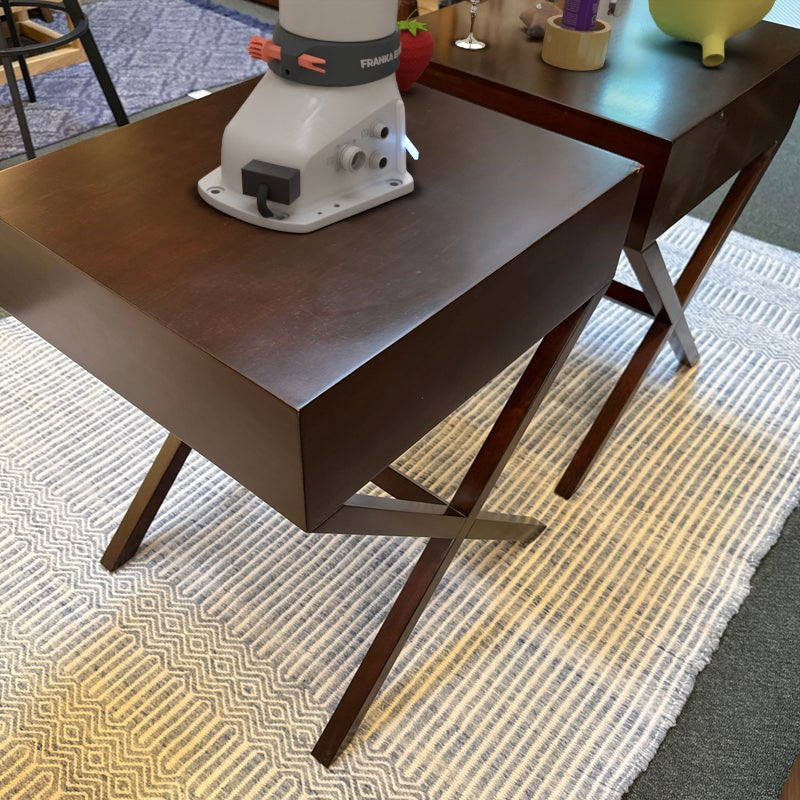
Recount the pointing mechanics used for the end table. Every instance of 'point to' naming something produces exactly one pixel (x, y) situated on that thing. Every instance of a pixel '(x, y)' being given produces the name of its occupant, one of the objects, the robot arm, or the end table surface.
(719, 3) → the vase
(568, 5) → the container
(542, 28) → the oil lamp
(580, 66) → the tape roll
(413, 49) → the strawberry
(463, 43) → the wineglass
